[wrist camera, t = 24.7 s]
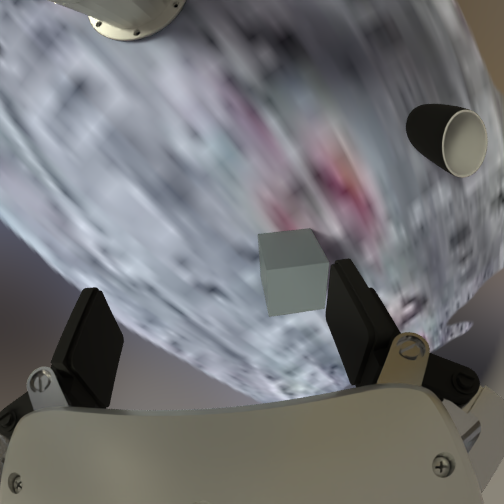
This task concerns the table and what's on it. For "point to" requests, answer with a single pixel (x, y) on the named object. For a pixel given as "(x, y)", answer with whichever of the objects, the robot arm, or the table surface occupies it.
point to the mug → (448, 137)
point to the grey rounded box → (292, 271)
